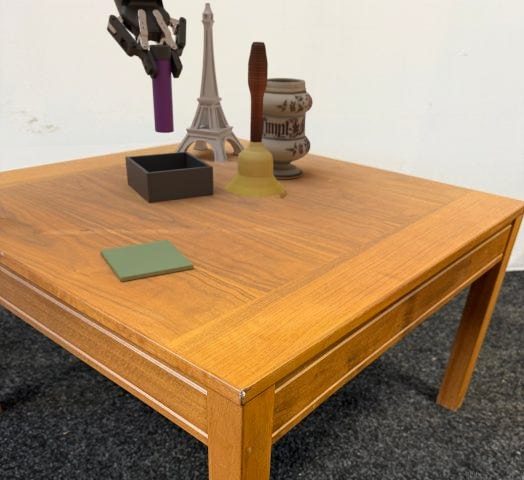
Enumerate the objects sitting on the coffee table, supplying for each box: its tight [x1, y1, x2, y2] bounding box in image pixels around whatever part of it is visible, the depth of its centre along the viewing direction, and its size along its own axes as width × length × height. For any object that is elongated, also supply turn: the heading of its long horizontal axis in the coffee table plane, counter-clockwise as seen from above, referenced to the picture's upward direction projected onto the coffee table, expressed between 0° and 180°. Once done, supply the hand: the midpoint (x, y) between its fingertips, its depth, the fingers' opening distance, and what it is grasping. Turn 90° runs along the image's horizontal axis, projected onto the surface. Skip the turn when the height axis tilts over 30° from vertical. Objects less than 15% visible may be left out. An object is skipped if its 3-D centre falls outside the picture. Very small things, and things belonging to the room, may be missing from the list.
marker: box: [149, 44, 175, 134], centre depth 91 cm, size 3×3×13 cm
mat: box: [99, 239, 194, 283], centre depth 76 cm, size 10×10×1 cm
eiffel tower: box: [173, 2, 246, 163], centre depth 119 cm, size 13×13×30 cm
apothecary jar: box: [262, 77, 314, 180], centre depth 112 cm, size 12×12×18 cm
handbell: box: [224, 41, 287, 199], centre depth 98 cm, size 12×12×25 cm
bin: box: [124, 151, 214, 204], centre depth 101 cm, size 12×12×6 cm
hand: (166, 74), depth 89 cm, fingers closed on marker, 3 cm apart
